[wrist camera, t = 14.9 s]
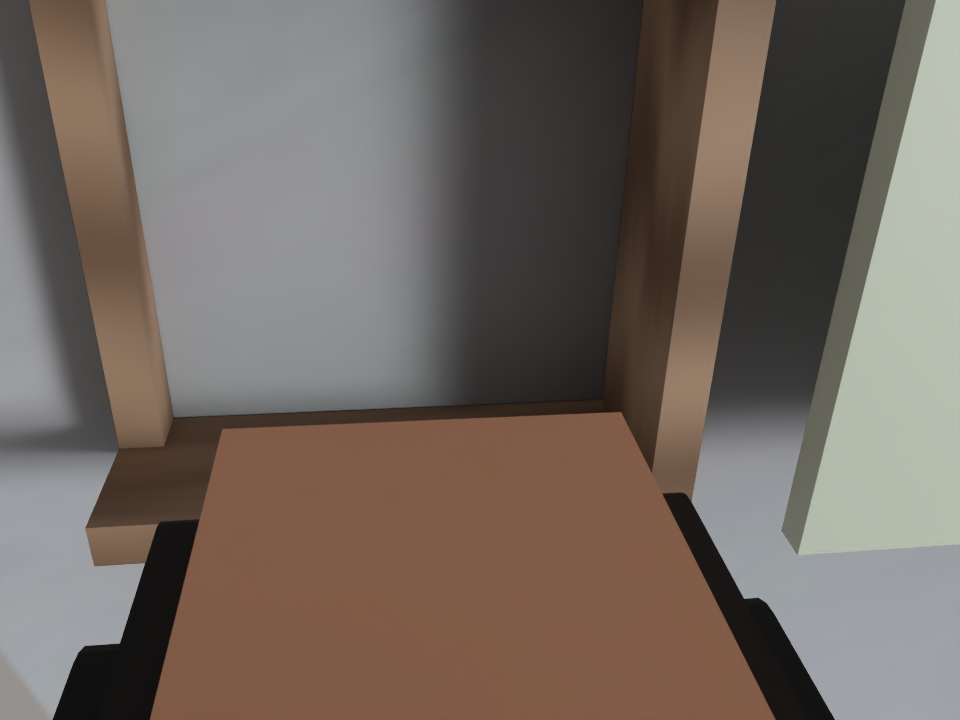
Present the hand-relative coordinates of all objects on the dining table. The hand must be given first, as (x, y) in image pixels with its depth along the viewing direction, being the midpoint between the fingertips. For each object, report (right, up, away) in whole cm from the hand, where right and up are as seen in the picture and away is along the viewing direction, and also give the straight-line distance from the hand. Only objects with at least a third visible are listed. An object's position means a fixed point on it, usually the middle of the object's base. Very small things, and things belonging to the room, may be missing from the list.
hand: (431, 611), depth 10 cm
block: (0, 0, +1) cm, 1 cm away
